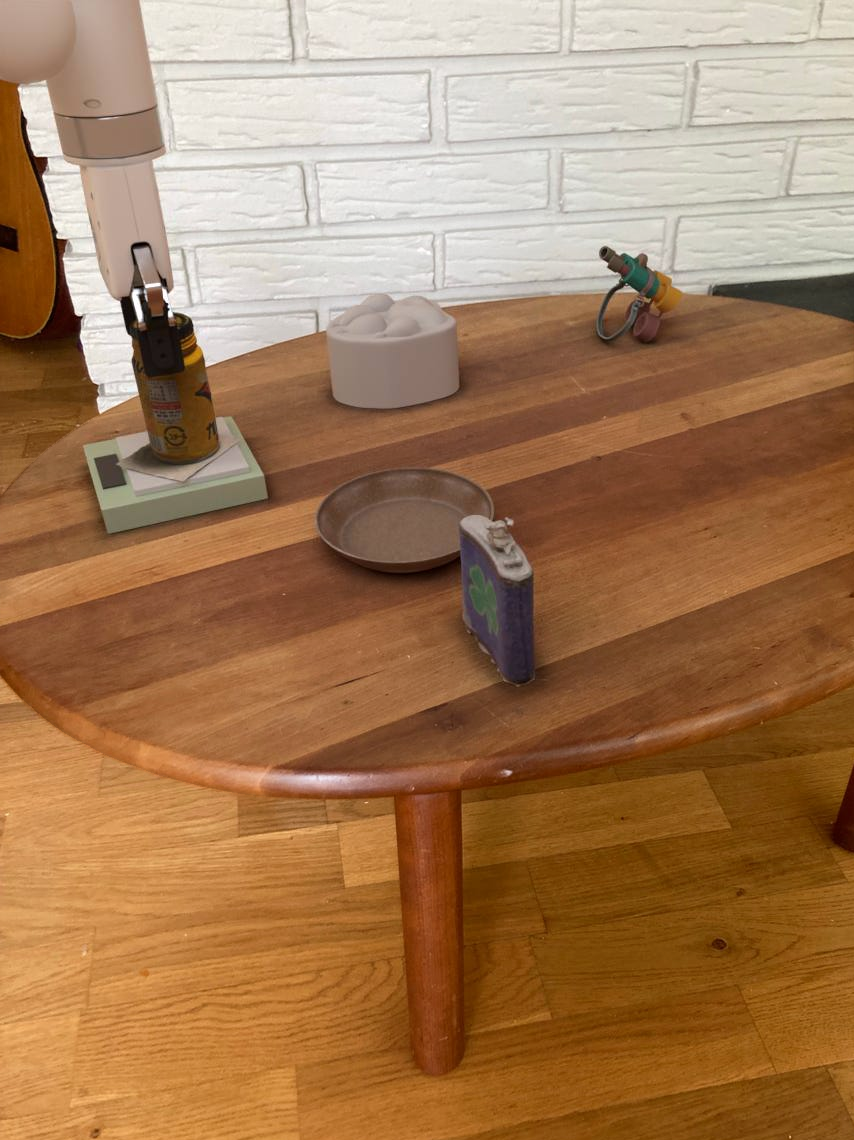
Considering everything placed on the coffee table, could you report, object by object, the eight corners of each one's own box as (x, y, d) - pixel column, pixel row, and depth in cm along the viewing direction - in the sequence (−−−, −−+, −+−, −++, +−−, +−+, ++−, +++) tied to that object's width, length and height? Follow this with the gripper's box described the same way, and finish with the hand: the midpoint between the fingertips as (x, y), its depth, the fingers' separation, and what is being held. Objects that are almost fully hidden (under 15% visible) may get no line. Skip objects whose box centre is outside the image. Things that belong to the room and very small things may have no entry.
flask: (456, 619, 81) (452, 495, 75) (492, 609, 82) (490, 485, 75) (508, 691, 74) (508, 561, 68) (546, 679, 75) (550, 550, 69)
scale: (108, 534, 92) (99, 503, 90) (89, 467, 101) (81, 439, 100) (268, 498, 96) (263, 468, 94) (235, 438, 106) (230, 410, 104)
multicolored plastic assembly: (639, 368, 122) (693, 292, 117) (574, 331, 118) (627, 250, 113) (620, 337, 129) (670, 263, 124) (558, 300, 125) (607, 223, 121)
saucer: (409, 611, 82) (407, 581, 80) (281, 545, 90) (277, 517, 88) (530, 530, 91) (530, 503, 89) (404, 477, 99) (402, 450, 97)
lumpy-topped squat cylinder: (468, 393, 113) (465, 312, 107) (350, 418, 109) (341, 335, 103) (431, 357, 120) (427, 280, 115) (319, 379, 116) (310, 300, 111)
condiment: (240, 441, 99) (217, 313, 91) (183, 483, 93) (154, 350, 85) (176, 427, 101) (149, 301, 94) (116, 467, 95) (82, 337, 88)
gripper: (48, 117, 86) (96, 325, 97) (72, 165, 73) (125, 399, 84) (143, 108, 89) (180, 312, 99) (183, 154, 76) (221, 383, 86)
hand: (155, 352), depth 91 cm, fingers open, 9 cm apart
